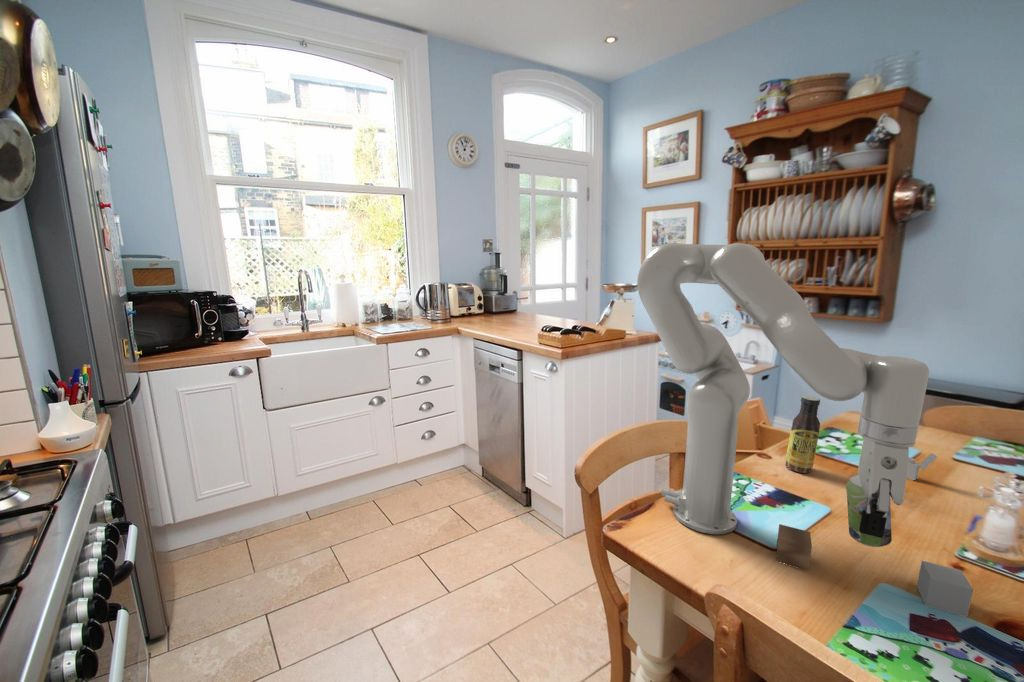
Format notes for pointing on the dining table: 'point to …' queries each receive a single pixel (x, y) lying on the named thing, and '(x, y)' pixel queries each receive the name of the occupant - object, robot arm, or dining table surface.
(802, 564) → the walnut block
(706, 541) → the dining table surface
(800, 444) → the sauce bottle
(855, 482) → the beverage can
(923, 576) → the slate grey block
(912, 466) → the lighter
